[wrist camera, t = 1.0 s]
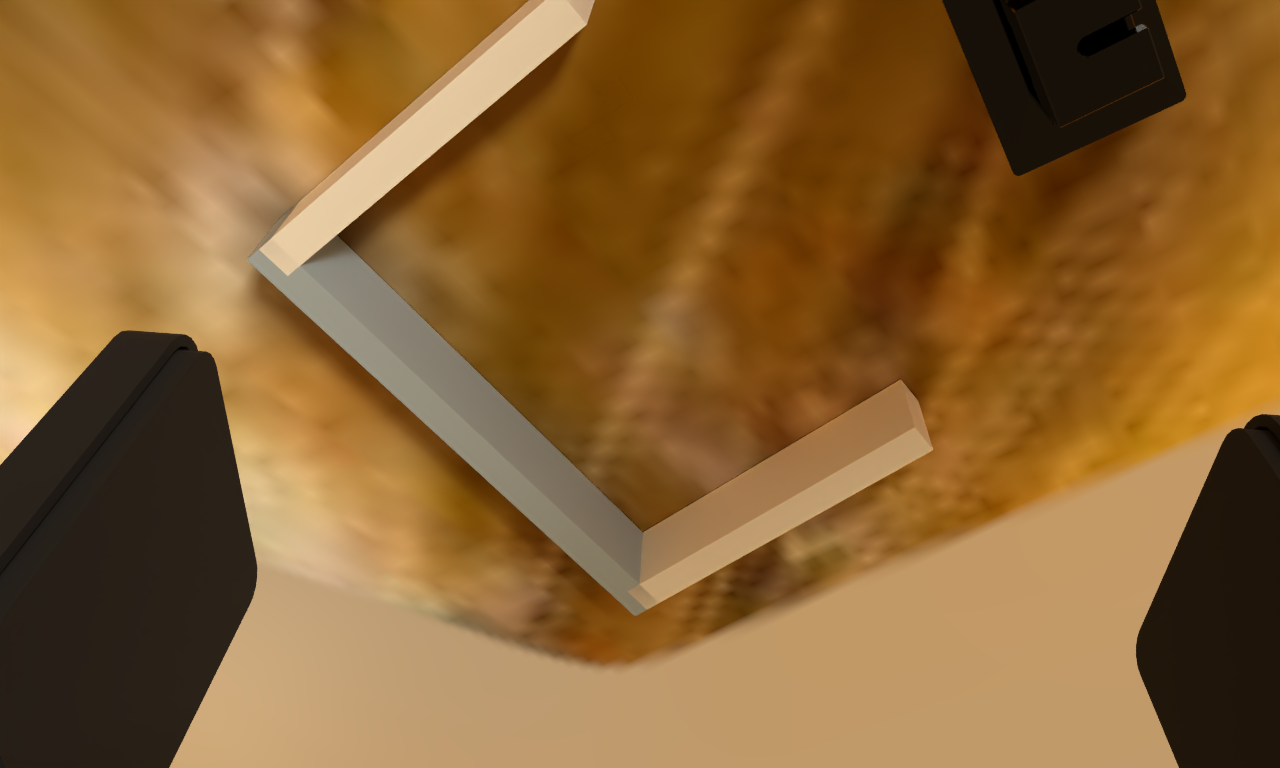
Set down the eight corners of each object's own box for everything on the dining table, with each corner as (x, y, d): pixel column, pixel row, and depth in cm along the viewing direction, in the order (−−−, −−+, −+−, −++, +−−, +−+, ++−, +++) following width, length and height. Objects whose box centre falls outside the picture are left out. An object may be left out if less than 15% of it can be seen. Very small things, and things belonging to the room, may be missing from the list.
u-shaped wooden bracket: (568, -35, 32) (557, -11, 29) (918, 401, 39) (933, 450, 37) (277, 220, 37) (246, 259, 34) (638, 563, 44) (635, 616, 42)
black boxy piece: (1218, 122, 34) (1285, 179, 30) (995, 224, 36) (1031, 290, 32) (1097, -278, 28) (1160, -270, 24) (841, -126, 31) (862, -97, 27)
